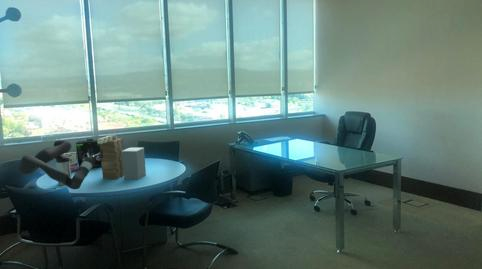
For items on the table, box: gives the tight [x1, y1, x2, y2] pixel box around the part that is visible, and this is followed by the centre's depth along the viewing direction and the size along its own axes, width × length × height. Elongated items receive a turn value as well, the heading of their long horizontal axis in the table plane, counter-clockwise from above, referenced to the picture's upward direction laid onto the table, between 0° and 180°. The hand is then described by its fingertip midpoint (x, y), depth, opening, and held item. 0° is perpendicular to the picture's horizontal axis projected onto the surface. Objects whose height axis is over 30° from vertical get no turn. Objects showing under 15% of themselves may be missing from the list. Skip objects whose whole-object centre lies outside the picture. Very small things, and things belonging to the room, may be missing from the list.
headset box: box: [75, 138, 102, 169], centre depth 344 cm, size 22×12×26 cm, turn 101°
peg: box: [96, 134, 118, 144], centre depth 296 cm, size 22×5×4 cm, turn 170°
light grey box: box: [122, 147, 147, 180], centre depth 302 cm, size 14×12×23 cm
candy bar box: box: [64, 151, 79, 173], centre depth 329 cm, size 11×5×16 cm, turn 129°
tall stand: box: [100, 138, 124, 180], centre depth 304 cm, size 14×12×30 cm
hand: (96, 150), depth 281 cm, fingers open, 8 cm apart
